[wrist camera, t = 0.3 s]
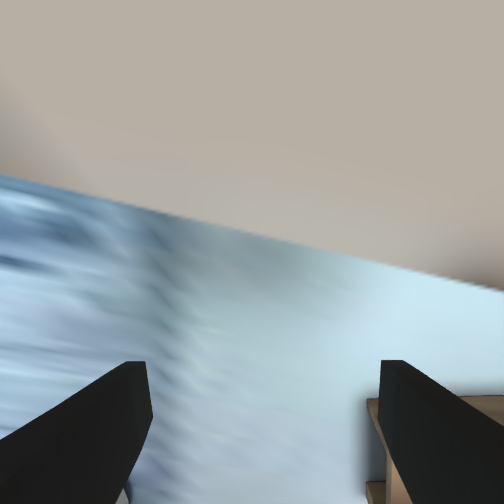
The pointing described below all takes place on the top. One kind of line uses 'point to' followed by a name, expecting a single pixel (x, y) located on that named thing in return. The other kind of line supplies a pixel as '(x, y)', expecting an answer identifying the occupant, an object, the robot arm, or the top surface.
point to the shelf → (393, 490)
